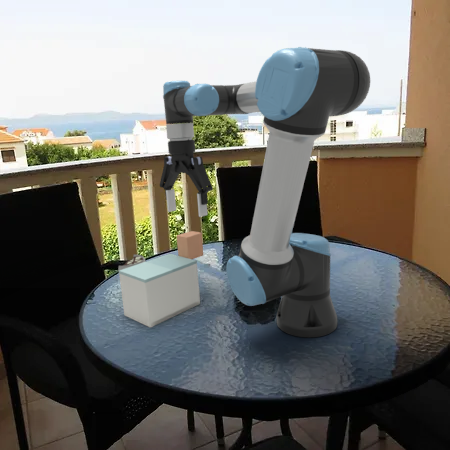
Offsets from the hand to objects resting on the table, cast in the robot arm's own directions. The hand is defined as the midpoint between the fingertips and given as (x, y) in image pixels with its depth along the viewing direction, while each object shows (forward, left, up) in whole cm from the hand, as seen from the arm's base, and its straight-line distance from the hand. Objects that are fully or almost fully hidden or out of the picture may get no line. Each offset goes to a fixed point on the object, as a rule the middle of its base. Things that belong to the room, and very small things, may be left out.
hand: (187, 213), depth 120 cm
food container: (+19, +7, -26) cm, 33 cm away
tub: (0, +12, -26) cm, 29 cm away
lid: (0, +9, -13) cm, 16 cm away
